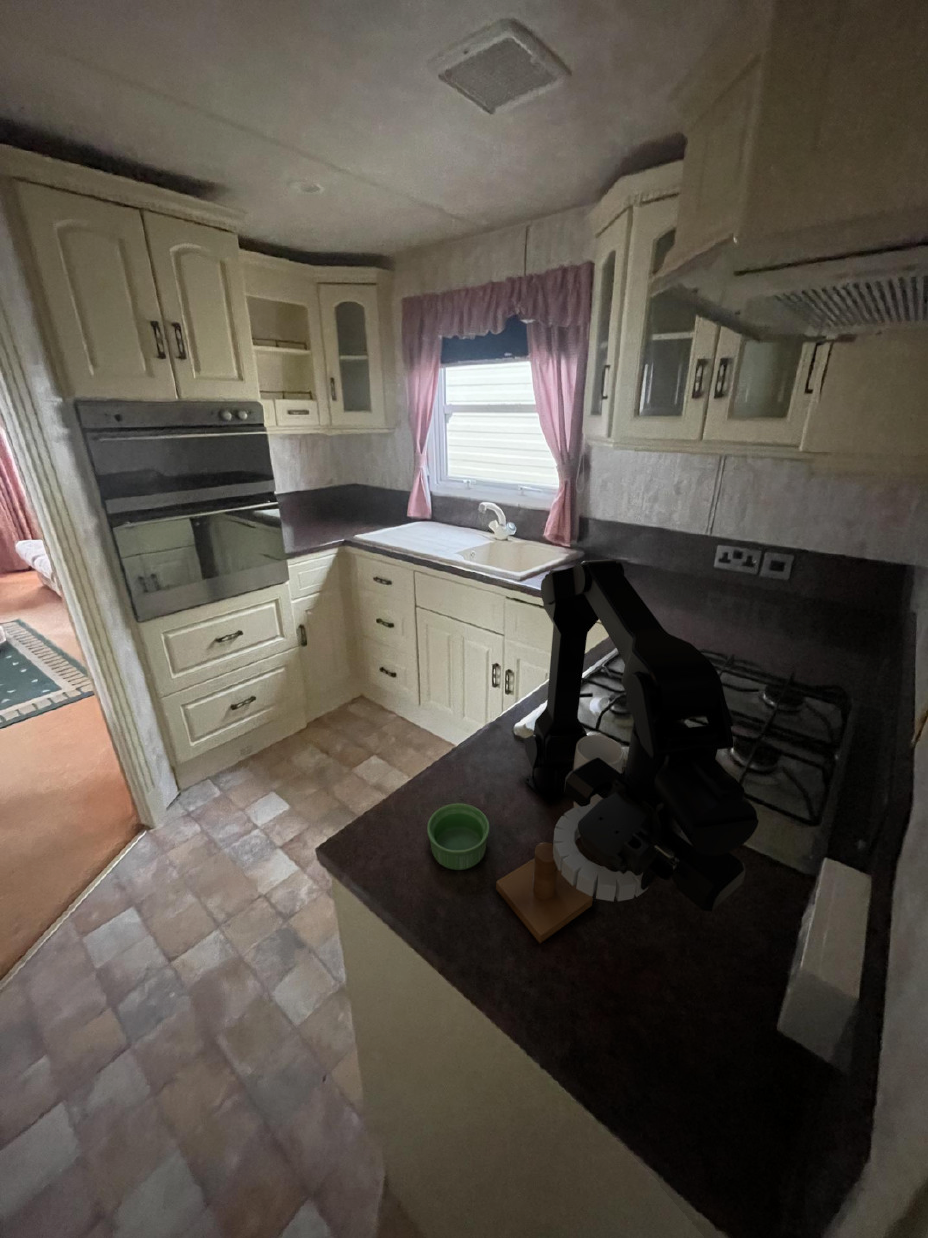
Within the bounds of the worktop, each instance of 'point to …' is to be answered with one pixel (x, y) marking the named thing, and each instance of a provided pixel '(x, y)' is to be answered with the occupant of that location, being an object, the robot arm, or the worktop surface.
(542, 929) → the wooden peg stand
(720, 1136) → the worktop surface
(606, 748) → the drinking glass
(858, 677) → the worktop surface
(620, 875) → the segmented block ring
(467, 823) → the ramekin
